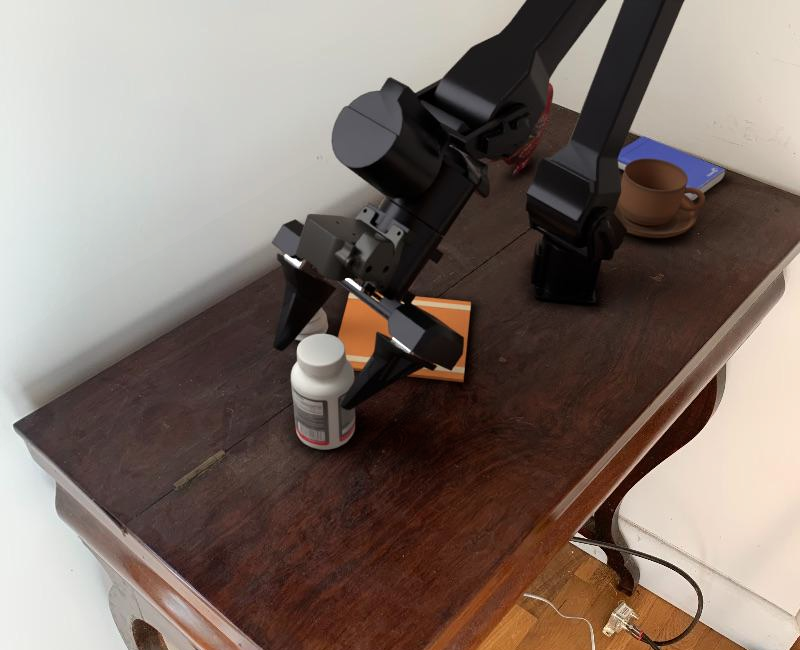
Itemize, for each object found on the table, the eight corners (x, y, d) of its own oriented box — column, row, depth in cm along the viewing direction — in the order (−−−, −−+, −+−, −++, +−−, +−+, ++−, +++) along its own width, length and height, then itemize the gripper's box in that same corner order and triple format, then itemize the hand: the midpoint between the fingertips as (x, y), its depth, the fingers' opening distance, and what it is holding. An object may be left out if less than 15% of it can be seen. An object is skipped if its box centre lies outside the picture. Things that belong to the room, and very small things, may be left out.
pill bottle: (340, 400, 75) (337, 320, 68) (365, 439, 72) (365, 359, 65) (286, 419, 73) (278, 338, 66) (309, 459, 70) (303, 379, 63)
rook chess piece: (336, 323, 83) (334, 260, 77) (315, 349, 80) (311, 285, 74) (298, 311, 84) (293, 247, 78) (276, 336, 81) (269, 272, 76)
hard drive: (726, 168, 105) (644, 134, 111) (694, 190, 100) (611, 154, 106) (722, 179, 106) (641, 145, 112) (691, 202, 102) (608, 165, 107)
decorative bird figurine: (551, 150, 110) (564, 78, 102) (494, 210, 99) (504, 134, 92) (532, 144, 111) (544, 73, 103) (473, 202, 100) (481, 127, 93)
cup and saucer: (678, 193, 103) (692, 149, 98) (705, 248, 95) (721, 202, 90) (585, 192, 102) (595, 147, 98) (604, 247, 94) (616, 201, 90)
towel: (470, 304, 86) (471, 301, 86) (463, 382, 78) (463, 378, 77) (350, 292, 87) (350, 288, 86) (330, 368, 78) (330, 364, 78)
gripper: (282, 127, 62) (179, 296, 65) (449, 235, 53) (322, 428, 55) (360, 184, 72) (268, 330, 74) (514, 284, 62) (403, 447, 65)
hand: (310, 377), depth 67 cm, fingers open, 9 cm apart
